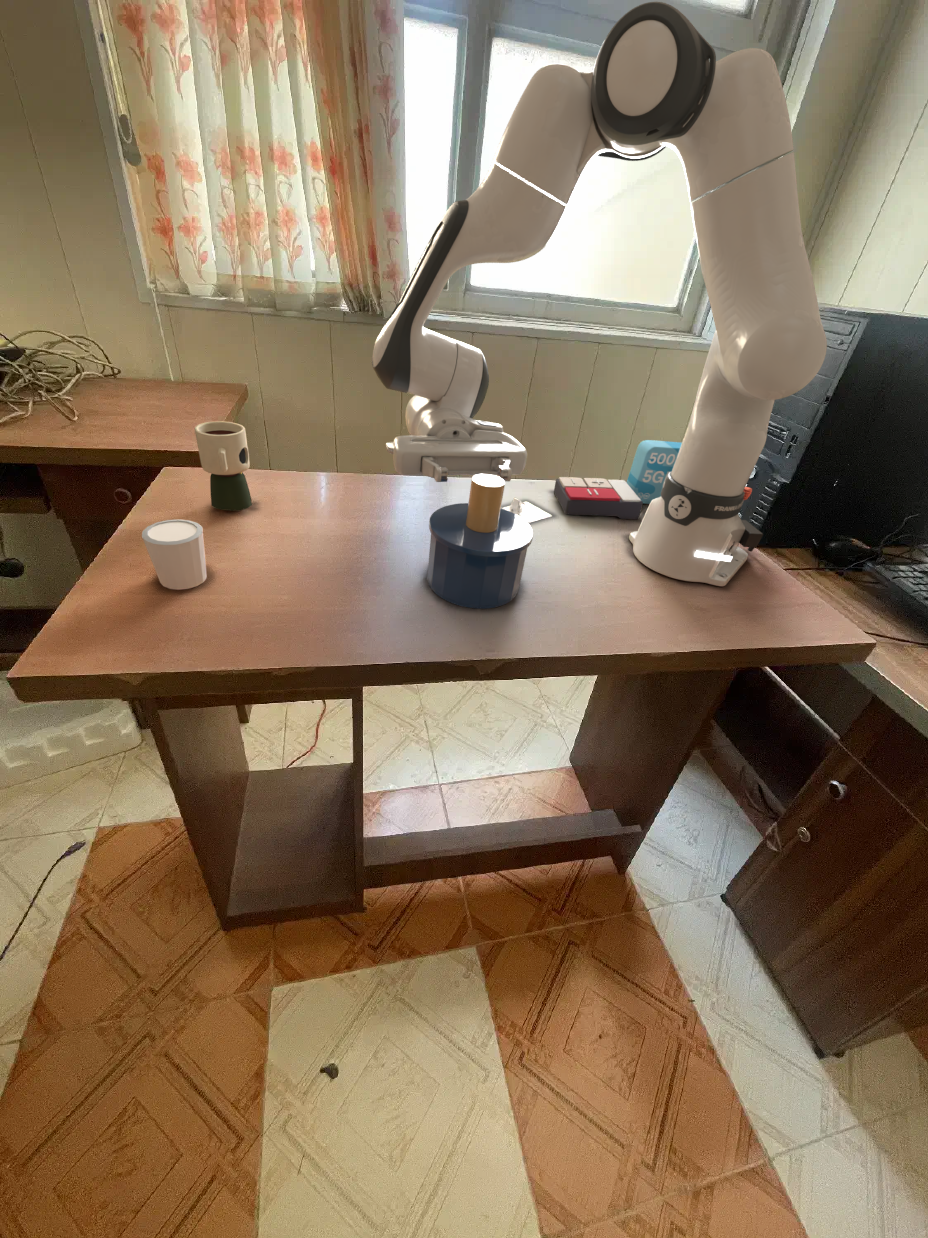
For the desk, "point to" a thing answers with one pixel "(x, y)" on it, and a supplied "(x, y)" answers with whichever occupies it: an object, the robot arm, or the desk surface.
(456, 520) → the lid
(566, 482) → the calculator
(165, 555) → the white tapered cup
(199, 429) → the character mug
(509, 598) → the pot
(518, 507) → the adhesive hook
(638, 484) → the data package
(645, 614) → the desk surface
